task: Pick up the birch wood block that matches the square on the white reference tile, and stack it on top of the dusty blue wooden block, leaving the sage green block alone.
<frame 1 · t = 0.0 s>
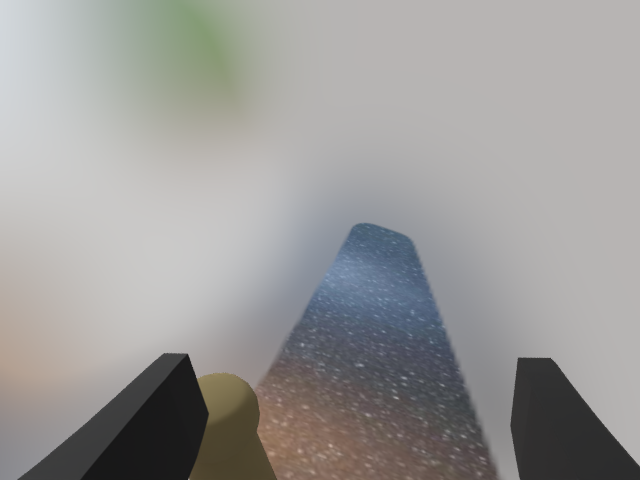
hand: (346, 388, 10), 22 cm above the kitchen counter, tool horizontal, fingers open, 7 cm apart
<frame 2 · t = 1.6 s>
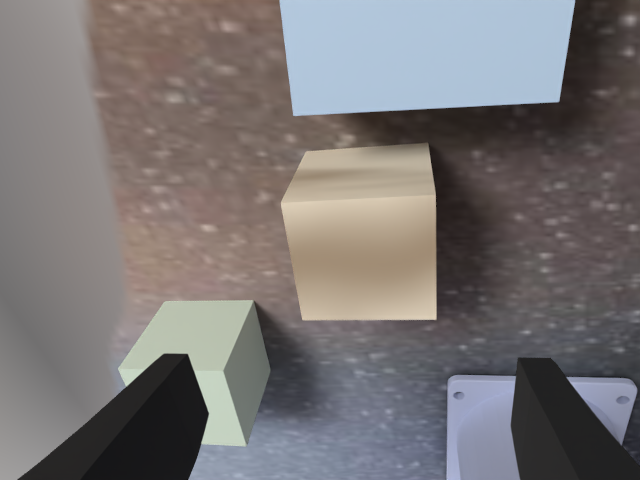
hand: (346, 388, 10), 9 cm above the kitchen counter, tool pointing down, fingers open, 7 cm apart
birch block: (370, 201, 19), on the kitchen counter
sage green block: (219, 335, 23), on the kitchen counter
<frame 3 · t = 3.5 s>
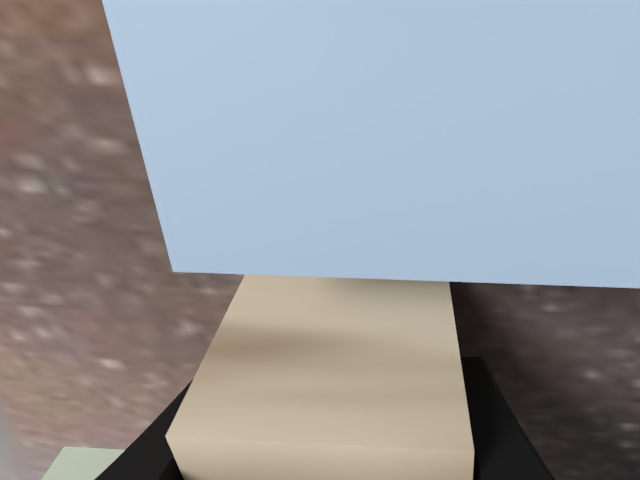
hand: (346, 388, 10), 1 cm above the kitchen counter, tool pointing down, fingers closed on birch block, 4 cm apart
birch block: (352, 343, 12), on the kitchen counter, touching gripper
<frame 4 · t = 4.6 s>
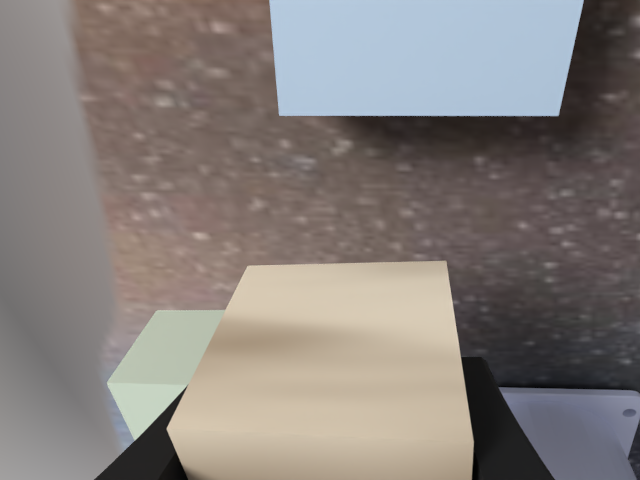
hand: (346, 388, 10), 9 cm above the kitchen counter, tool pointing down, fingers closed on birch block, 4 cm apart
birch block: (352, 339, 12), point 7 cm above the kitchen counter, touching gripper
sage green block: (213, 345, 23), on the kitchen counter
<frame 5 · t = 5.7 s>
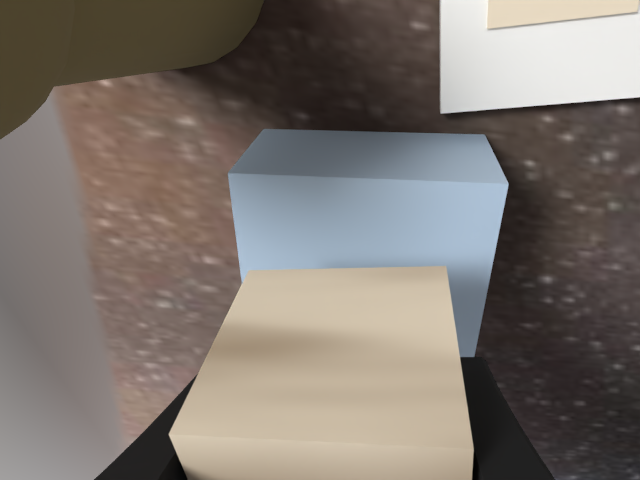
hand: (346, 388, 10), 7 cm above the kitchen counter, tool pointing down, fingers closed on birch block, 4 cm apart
blue base block: (367, 224, 17), on the kitchen counter
birch block: (352, 343, 12), point 6 cm above the kitchen counter, touching gripper
when the fingers open (7 cm above the kitchen counter, at t = 6.2 s): birch block drops 2 cm, point 4 cm above the kitchen counter.
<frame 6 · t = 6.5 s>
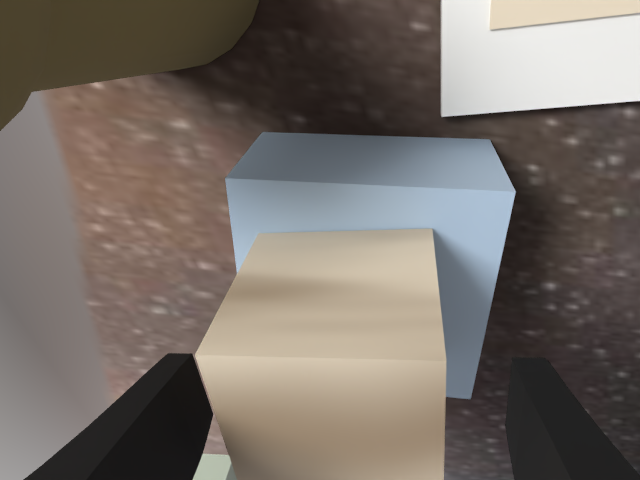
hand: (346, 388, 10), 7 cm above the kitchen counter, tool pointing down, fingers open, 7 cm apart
blue base block: (368, 230, 17), on the kitchen counter
birch block: (349, 300, 13), point 4 cm above the kitchen counter
sage green block: (203, 478, 26), on the kitchen counter
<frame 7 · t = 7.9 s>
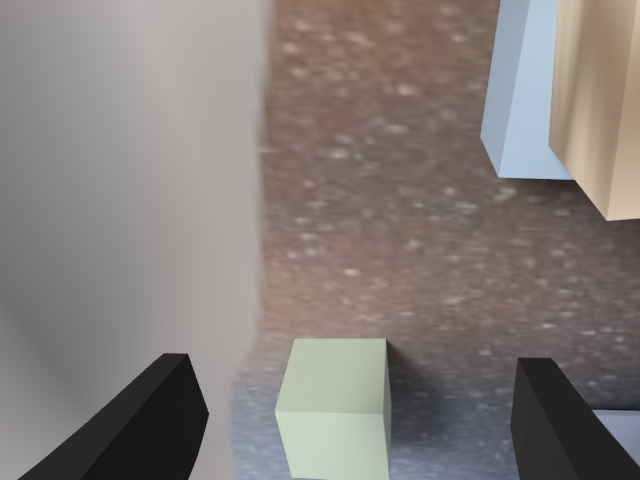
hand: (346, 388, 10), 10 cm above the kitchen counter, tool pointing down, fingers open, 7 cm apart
blue base block: (608, 30, 15), on the kitchen counter, touching birch block
sage green block: (344, 371, 24), on the kitchen counter
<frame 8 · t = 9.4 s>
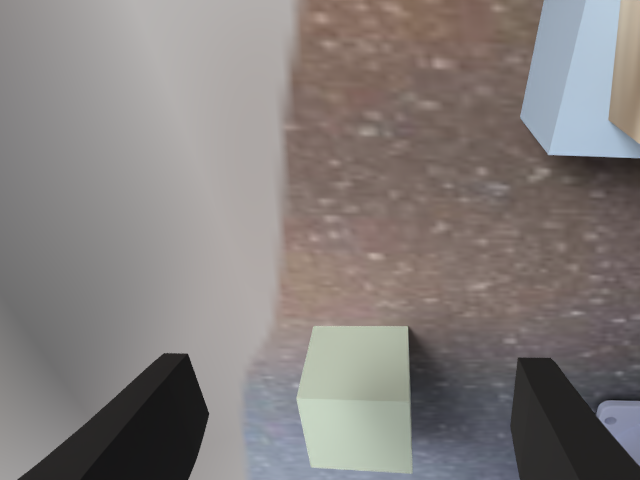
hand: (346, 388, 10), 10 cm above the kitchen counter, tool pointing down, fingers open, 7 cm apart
sage green block: (363, 359, 24), on the kitchen counter
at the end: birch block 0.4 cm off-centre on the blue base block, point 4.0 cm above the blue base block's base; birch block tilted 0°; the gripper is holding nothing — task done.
